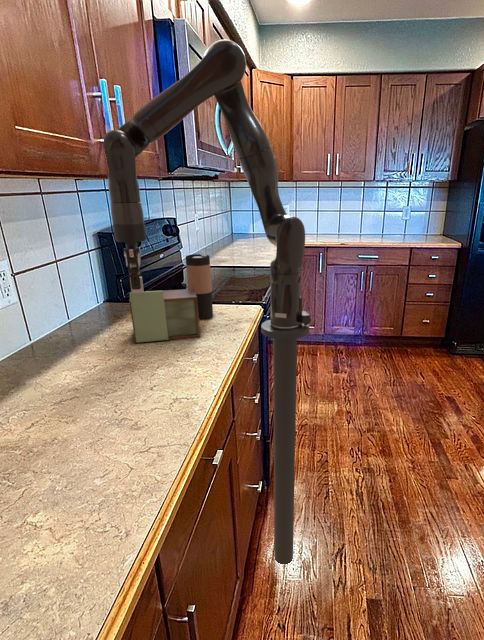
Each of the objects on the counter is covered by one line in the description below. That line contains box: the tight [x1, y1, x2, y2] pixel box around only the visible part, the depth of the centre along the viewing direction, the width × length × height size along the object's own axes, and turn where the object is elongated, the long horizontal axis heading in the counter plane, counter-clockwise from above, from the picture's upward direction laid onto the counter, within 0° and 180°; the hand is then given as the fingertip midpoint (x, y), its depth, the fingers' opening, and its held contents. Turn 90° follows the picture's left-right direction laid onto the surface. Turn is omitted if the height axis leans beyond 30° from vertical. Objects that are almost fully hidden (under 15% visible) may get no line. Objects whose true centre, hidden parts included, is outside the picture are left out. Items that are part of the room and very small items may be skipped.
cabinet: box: [128, 288, 201, 344], centre depth 122 cm, size 18×10×12 cm, turn 108°
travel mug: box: [185, 253, 214, 321], centre depth 137 cm, size 8×8×20 cm
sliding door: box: [129, 275, 169, 343], centre depth 115 cm, size 9×2×18 cm, turn 108°
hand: (136, 285), depth 111 cm, fingers open, 8 cm apart
